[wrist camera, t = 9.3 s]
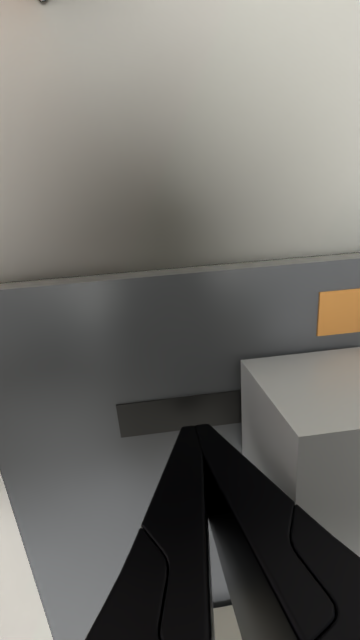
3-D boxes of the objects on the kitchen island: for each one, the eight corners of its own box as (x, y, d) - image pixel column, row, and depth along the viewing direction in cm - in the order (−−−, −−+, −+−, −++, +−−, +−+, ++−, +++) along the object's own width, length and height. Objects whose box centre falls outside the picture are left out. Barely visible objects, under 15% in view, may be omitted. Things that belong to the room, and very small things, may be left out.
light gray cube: (363, 346, 9) (497, 410, 5) (353, 438, 10) (460, 543, 6) (240, 360, 8) (298, 437, 5) (242, 454, 9) (291, 571, 6)
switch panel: (429, 246, 10) (494, 246, 8) (369, 604, 16) (401, 656, 14) (-12, 284, 9) (-58, 295, 7) (87, 655, 15) (77, 719, 13)
